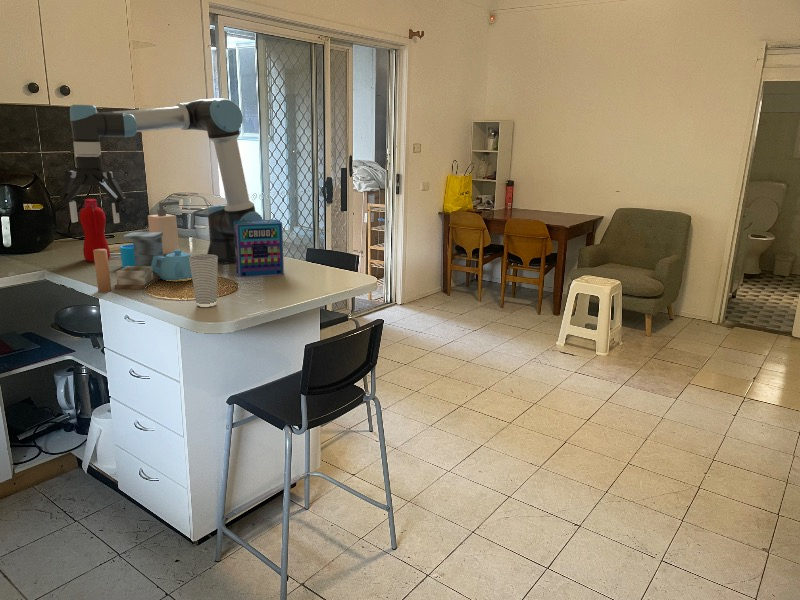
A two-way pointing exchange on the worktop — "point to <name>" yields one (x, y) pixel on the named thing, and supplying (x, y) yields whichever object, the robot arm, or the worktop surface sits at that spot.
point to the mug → (127, 255)
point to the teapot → (173, 266)
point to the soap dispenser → (165, 227)
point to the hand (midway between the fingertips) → (95, 222)
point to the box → (258, 248)
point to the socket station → (141, 261)
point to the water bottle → (93, 229)
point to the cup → (204, 277)
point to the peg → (102, 270)
